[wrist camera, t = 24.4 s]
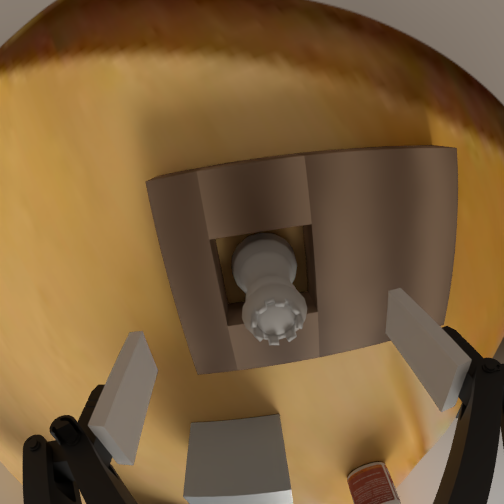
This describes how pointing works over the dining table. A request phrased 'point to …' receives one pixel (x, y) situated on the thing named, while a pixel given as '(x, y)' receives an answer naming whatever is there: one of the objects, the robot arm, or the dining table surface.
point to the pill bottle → (372, 485)
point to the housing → (237, 462)
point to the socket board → (311, 244)
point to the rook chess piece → (269, 287)
